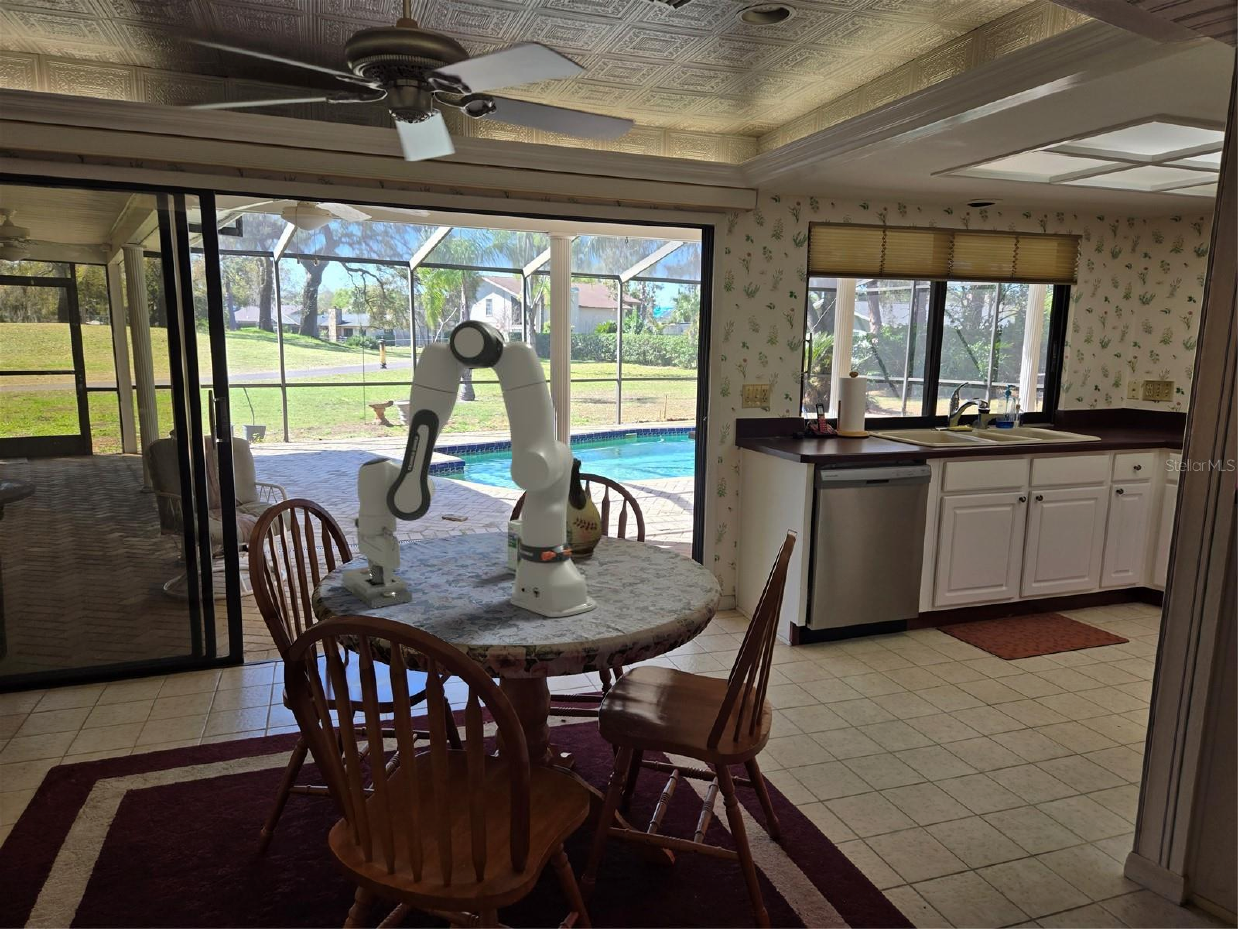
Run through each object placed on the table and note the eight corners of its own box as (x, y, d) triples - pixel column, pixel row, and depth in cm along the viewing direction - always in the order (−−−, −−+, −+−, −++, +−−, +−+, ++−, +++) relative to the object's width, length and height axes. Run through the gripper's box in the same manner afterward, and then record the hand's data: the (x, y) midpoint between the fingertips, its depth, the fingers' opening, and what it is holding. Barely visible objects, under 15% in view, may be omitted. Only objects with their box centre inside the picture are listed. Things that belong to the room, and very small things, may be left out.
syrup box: (506, 572, 214) (506, 521, 212) (523, 568, 218) (523, 518, 216) (519, 577, 210) (518, 524, 208) (536, 572, 214) (536, 521, 212)
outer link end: (407, 597, 192) (407, 580, 191) (367, 605, 186) (366, 587, 185) (380, 579, 207) (380, 562, 206) (342, 585, 201) (342, 568, 200)
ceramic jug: (551, 548, 241) (550, 452, 236) (600, 547, 242) (600, 452, 238) (551, 562, 224) (551, 460, 220) (604, 561, 226) (605, 460, 221)
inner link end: (412, 601, 189) (411, 590, 189) (371, 609, 183) (371, 598, 183) (393, 587, 200) (392, 578, 199) (354, 594, 194) (353, 584, 193)
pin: (391, 597, 192) (390, 563, 191) (375, 600, 190) (374, 566, 189) (386, 593, 195) (384, 560, 194) (370, 595, 193) (368, 562, 192)
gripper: (406, 530, 184) (408, 586, 186) (376, 515, 200) (378, 567, 202) (380, 534, 180) (382, 591, 182) (351, 518, 196) (354, 571, 198)
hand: (380, 578), depth 192 cm, fingers open, 8 cm apart
